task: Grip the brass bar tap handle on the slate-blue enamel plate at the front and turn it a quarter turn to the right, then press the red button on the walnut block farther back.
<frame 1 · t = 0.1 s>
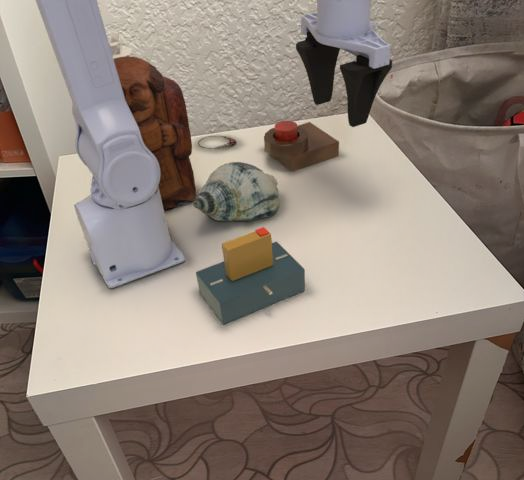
hand: (339, 112, 67), 10 cm above the table, tool pointing down, fingers open, 7 cm apart
button block: (301, 153, 81), on the table
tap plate: (251, 291, 60), on the table
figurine: (148, 170, 81), on the table
button: (286, 131, 77), point 4 cm above the table, slide at 0.1 cm
seashell: (239, 213, 71), on the table
tap handle: (248, 253, 56), point 5 cm above the table, hinge at 0.0°
necklace: (217, 145, 85), on the table
wooden figurine: (157, 201, 75), on the table
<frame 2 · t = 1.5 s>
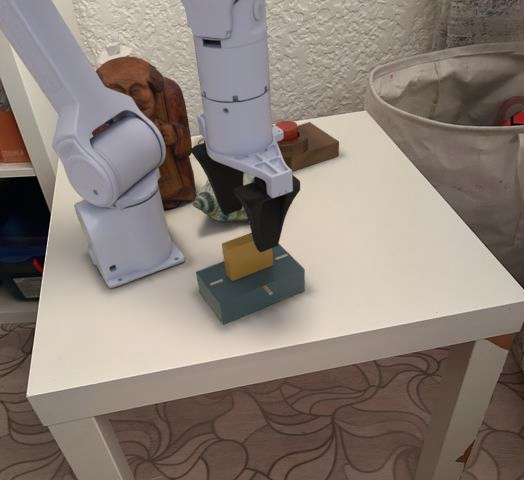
hand: (249, 228, 55), 8 cm above the table, tool pointing down, fingers open, 7 cm apart
nothing on the table moved.
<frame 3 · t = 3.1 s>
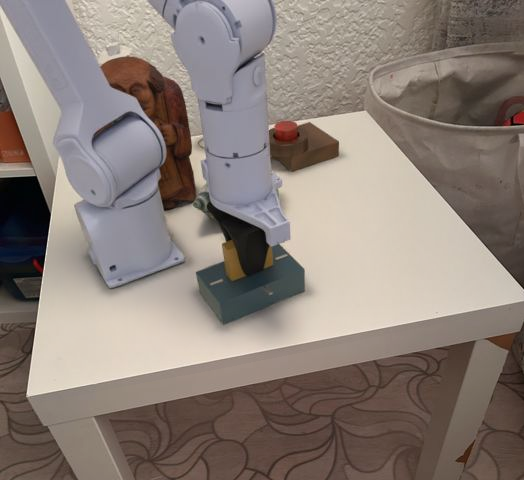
hand: (249, 266, 58), 4 cm above the table, tool pointing down, fingers closed on tap handle
tap handle: (248, 253, 56), point 5 cm above the table, hinge at 0.0°, touching gripper
everything else where it was.
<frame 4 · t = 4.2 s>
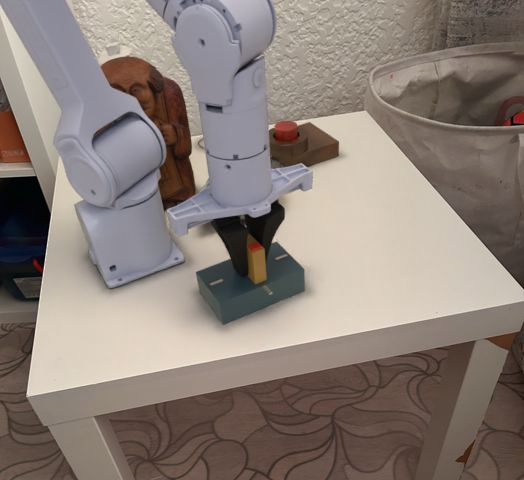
hand: (249, 267, 58), 3 cm above the table, tool pointing down, fingers closed
tap handle: (248, 253, 56), point 5 cm above the table, hinge at -89.4°
everything else where it was.
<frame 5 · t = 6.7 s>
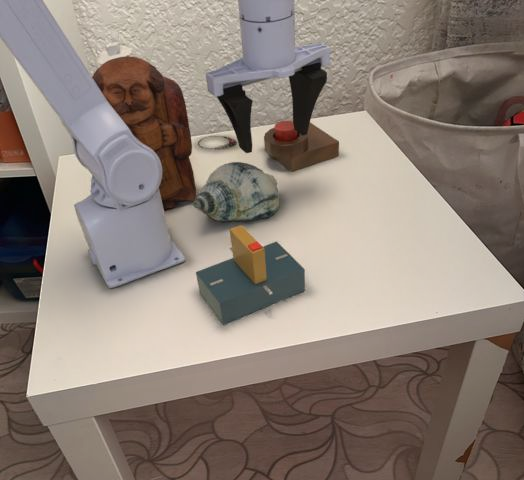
hand: (273, 140, 66), 8 cm above the table, tool pointing down, fingers open, 7 cm apart
nothing on the table moved.
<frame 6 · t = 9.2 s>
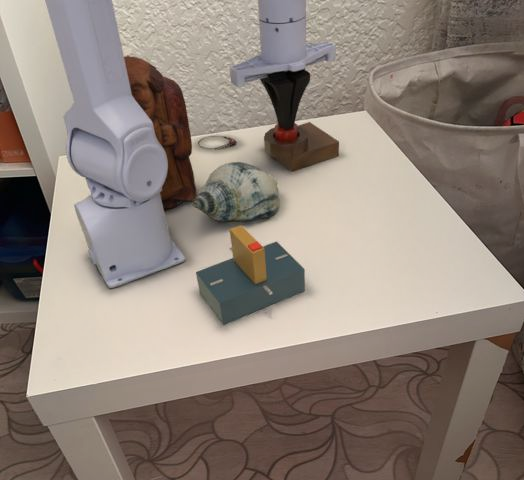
hand: (286, 126, 76), 5 cm above the table, tool pointing down, fingers closed, pressing on button
button: (286, 132, 77), point 4 cm above the table, slide at 0.0 cm, touching gripper
everything else where it was.
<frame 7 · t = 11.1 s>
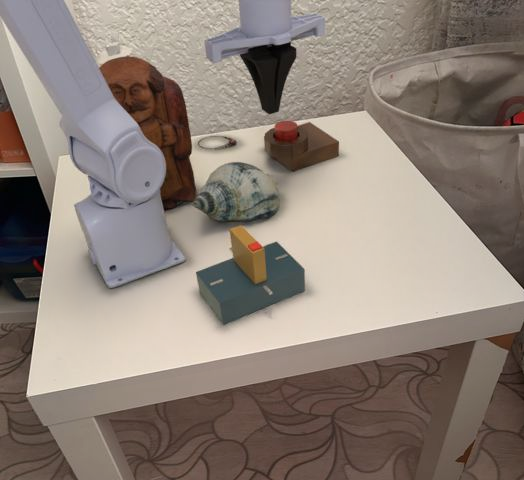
hand: (270, 110, 68), 10 cm above the table, tool pointing down, fingers closed
button: (286, 131, 77), point 4 cm above the table, slide at 0.1 cm
everything else where it was.
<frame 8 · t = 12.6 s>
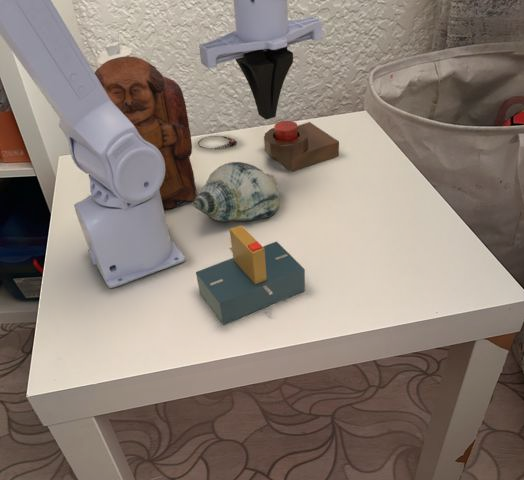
hand: (267, 115, 67), 10 cm above the table, tool pointing down, fingers closed
nothing on the table moved.
at the end: tap handle at -89° (first picture: +0°); button pushed in 1.2 cm at the most during the clip, back to where it started at the end; button slide at 0.1 cm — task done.
